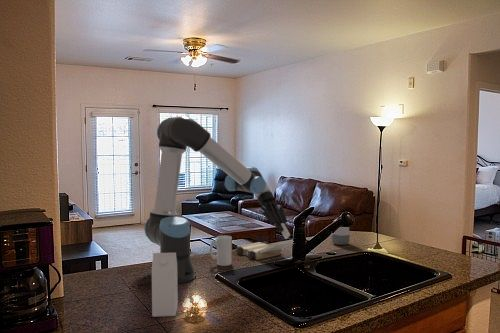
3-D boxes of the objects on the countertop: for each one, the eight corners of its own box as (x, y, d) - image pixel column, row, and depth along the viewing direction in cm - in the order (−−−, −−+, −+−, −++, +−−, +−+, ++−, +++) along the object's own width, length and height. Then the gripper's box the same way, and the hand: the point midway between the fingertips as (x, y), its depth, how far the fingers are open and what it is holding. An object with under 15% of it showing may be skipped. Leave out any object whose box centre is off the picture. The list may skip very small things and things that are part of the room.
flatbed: (234, 252, 199) (234, 245, 199) (262, 247, 209) (262, 240, 209) (254, 260, 186) (254, 252, 186) (282, 254, 197) (282, 246, 196)
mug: (229, 261, 185) (228, 234, 184) (234, 265, 179) (233, 238, 178) (207, 263, 181) (207, 236, 181) (211, 267, 175) (211, 240, 174)
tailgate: (257, 251, 187) (275, 242, 176) (280, 246, 195) (298, 238, 185) (258, 253, 187) (276, 245, 176) (280, 249, 195) (299, 240, 184)
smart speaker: (328, 242, 220) (328, 216, 219) (344, 241, 222) (344, 216, 221) (336, 246, 211) (336, 220, 210) (352, 245, 213) (353, 219, 212)
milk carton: (155, 307, 132) (154, 250, 131) (177, 307, 133) (177, 249, 132) (152, 317, 125) (151, 256, 124) (175, 316, 126) (174, 255, 125)
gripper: (271, 199, 199) (294, 239, 187) (249, 201, 191) (272, 243, 179) (278, 189, 194) (302, 230, 182) (256, 191, 187) (280, 234, 174)
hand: (287, 236), depth 180 cm, fingers closed
